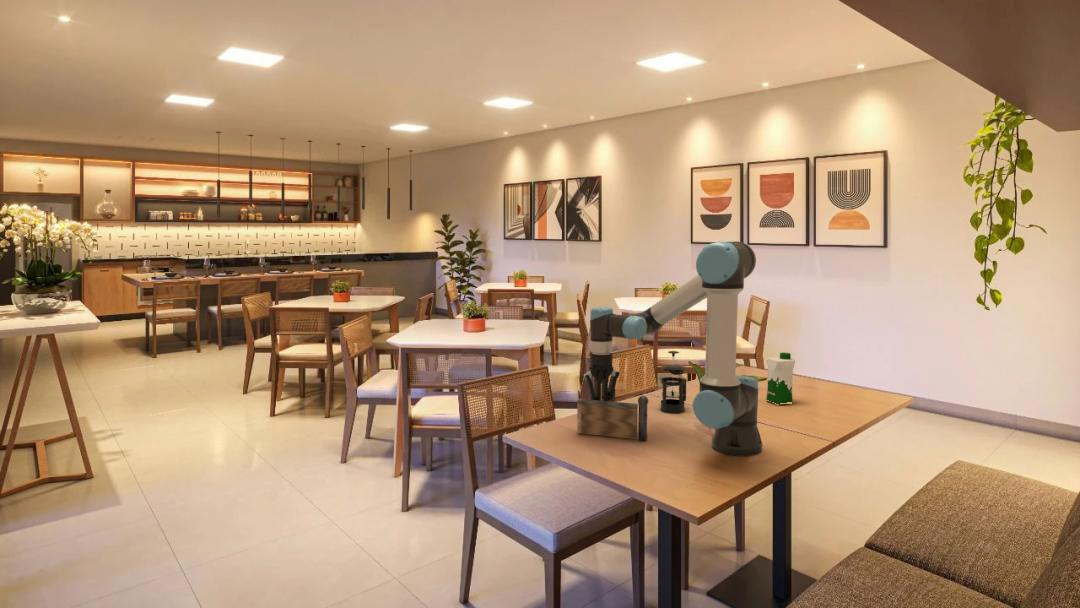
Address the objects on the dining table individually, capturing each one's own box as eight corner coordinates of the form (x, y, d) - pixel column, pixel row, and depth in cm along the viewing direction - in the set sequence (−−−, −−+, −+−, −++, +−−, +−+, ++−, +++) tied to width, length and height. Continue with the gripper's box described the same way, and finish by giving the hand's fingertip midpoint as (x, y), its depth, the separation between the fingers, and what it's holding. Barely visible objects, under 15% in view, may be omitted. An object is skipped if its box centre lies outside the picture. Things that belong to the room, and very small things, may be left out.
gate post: (649, 441, 202) (650, 396, 201) (640, 442, 201) (641, 397, 200) (644, 438, 206) (645, 394, 204) (635, 439, 205) (635, 395, 203)
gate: (637, 436, 205) (637, 403, 204) (635, 439, 203) (636, 405, 202) (579, 430, 212) (579, 398, 211) (577, 432, 210) (577, 400, 209)
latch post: (615, 420, 226) (615, 388, 224) (607, 421, 225) (607, 389, 223) (612, 419, 227) (612, 387, 226) (605, 420, 226) (605, 388, 225)
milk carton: (796, 404, 246) (797, 355, 244) (776, 406, 243) (778, 356, 241) (781, 399, 254) (782, 351, 252) (762, 401, 252) (764, 352, 250)
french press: (671, 415, 232) (672, 354, 230) (653, 409, 240) (654, 351, 238) (693, 410, 239) (694, 351, 236) (675, 405, 247) (676, 347, 244)
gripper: (613, 349, 216) (613, 415, 218) (579, 352, 211) (579, 419, 214) (623, 353, 209) (623, 421, 211) (588, 356, 204) (588, 425, 207)
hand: (601, 420), depth 213 cm, fingers closed
